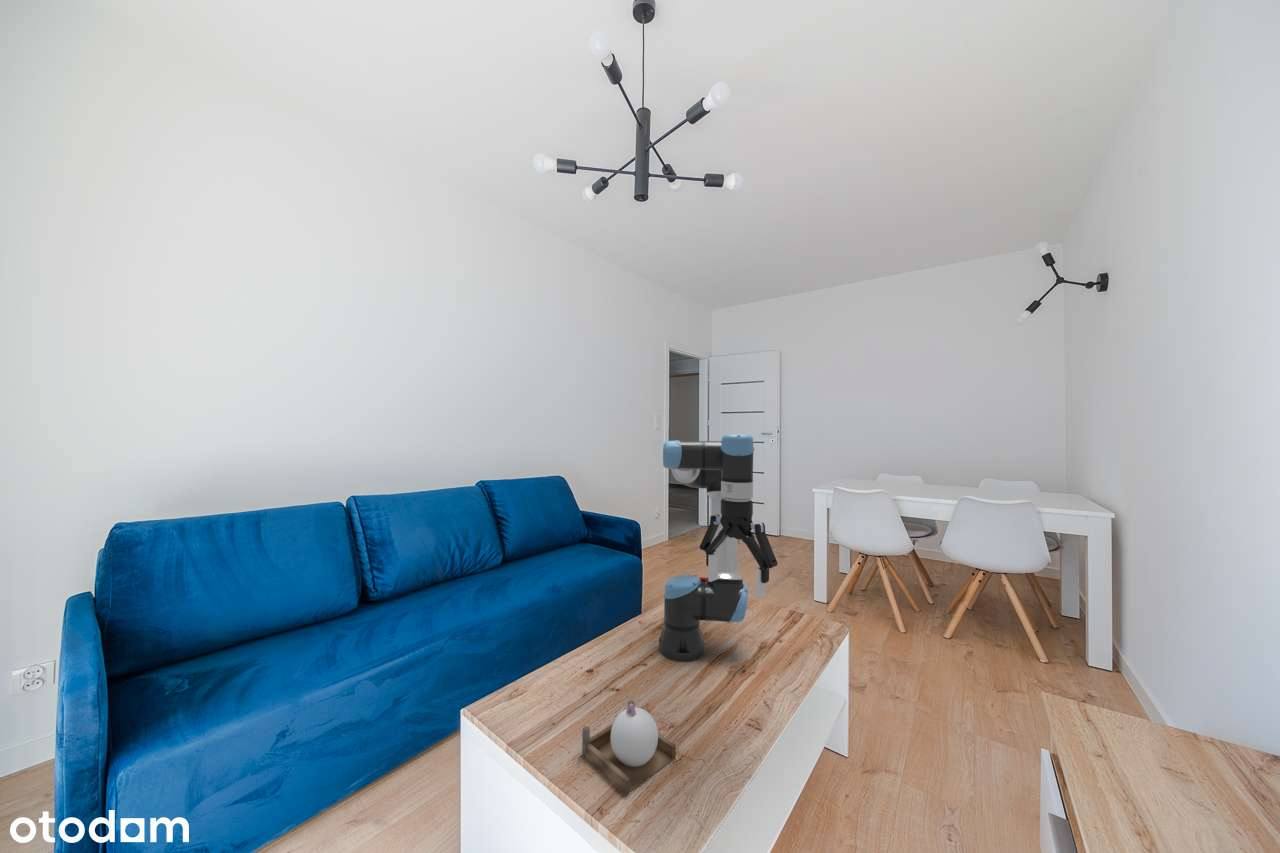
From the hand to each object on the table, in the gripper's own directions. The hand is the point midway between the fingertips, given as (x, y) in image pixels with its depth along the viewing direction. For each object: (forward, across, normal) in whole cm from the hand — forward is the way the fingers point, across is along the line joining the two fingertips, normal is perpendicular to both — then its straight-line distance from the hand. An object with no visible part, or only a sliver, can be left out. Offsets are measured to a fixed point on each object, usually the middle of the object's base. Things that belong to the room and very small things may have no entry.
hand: (735, 587), depth 103 cm
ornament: (+34, -10, -24) cm, 43 cm away
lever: (+35, -60, +66) cm, 95 cm away
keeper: (+35, -12, -24) cm, 43 cm away
